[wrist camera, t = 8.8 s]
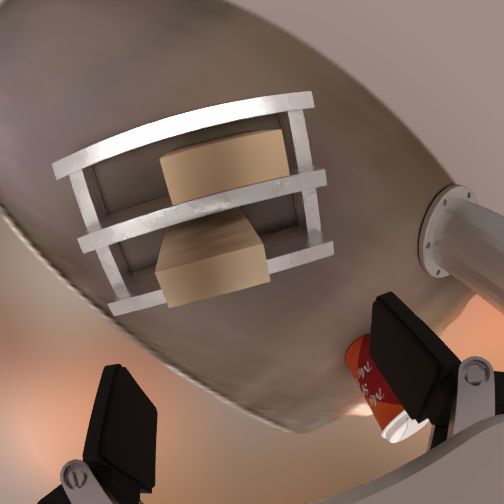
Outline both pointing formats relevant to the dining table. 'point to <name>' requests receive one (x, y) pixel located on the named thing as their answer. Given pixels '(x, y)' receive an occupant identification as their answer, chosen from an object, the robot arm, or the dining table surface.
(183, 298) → the beech board
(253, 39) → the dining table surface
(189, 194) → the oak board
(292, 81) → the dining table surface
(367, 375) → the paper cup
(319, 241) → the rack
